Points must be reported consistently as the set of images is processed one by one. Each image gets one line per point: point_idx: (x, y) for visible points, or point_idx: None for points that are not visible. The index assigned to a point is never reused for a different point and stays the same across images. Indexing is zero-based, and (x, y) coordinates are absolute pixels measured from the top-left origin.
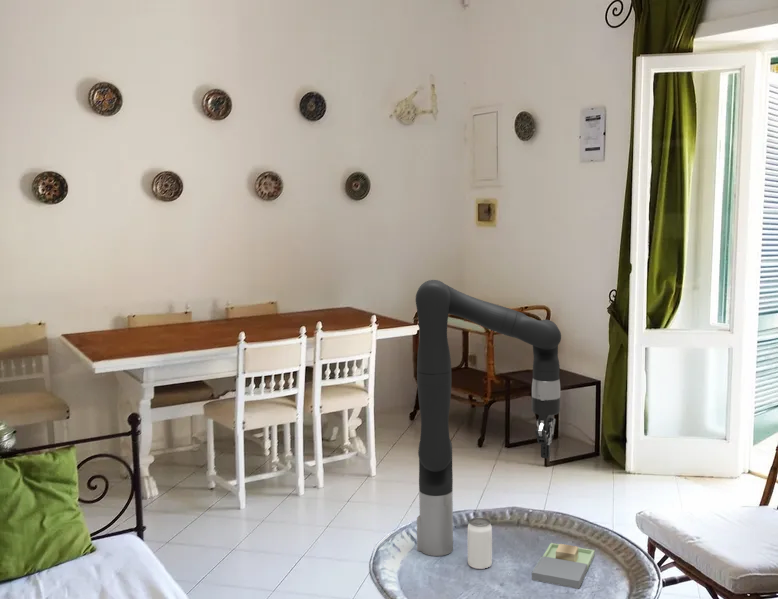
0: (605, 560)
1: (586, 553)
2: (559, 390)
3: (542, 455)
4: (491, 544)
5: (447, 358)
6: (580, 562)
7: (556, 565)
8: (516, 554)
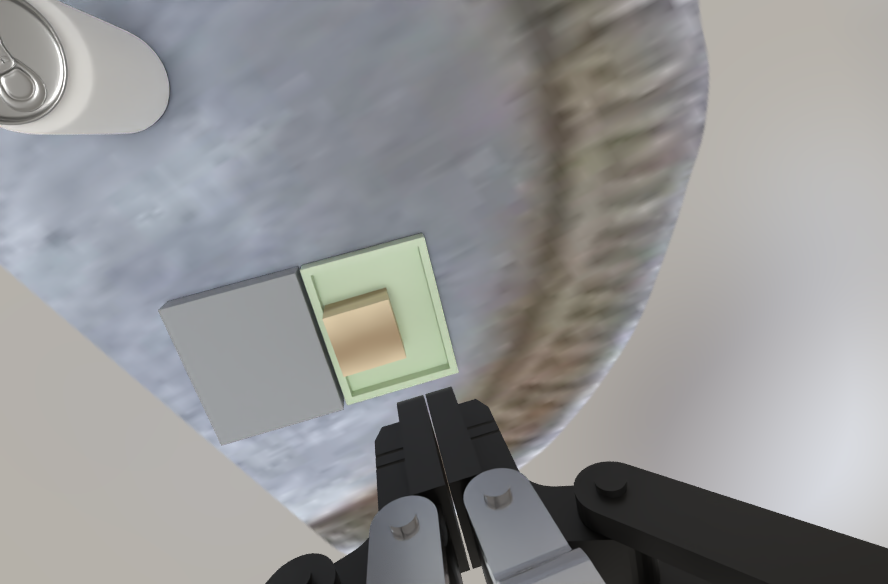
0: None
1: (443, 348)
2: None
3: (381, 441)
4: (95, 133)
5: None
6: None
7: (266, 346)
8: (296, 158)
